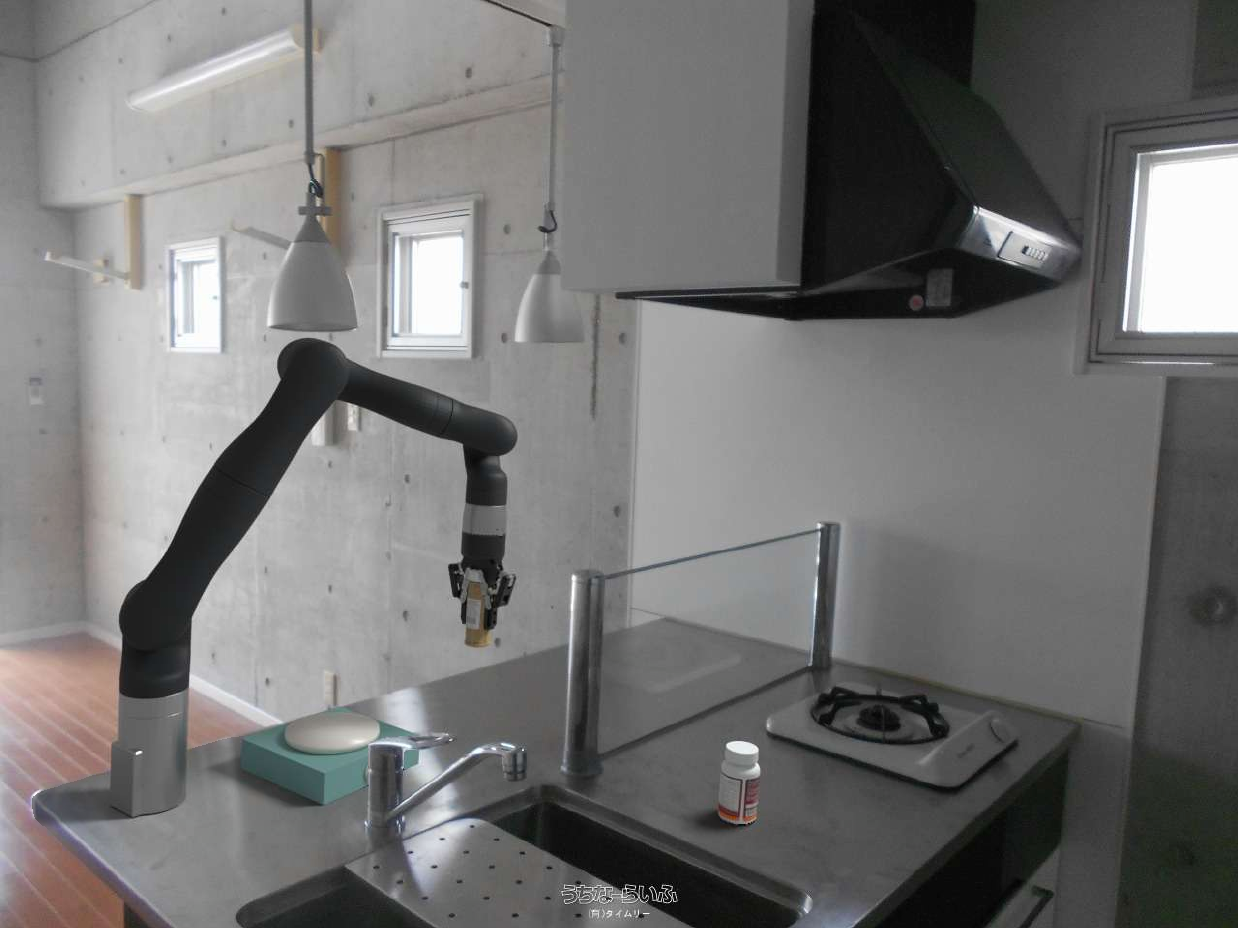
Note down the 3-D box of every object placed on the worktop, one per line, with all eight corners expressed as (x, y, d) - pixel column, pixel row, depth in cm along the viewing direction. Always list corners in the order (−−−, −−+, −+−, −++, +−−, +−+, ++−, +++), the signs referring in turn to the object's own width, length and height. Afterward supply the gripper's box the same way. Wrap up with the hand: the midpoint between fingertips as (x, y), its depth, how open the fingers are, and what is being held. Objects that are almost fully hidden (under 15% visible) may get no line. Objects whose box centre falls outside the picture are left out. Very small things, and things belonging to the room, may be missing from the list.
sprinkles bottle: (494, 646, 157) (499, 570, 156) (470, 649, 154) (475, 571, 153) (483, 639, 161) (488, 565, 160) (459, 642, 158) (464, 566, 157)
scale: (326, 806, 136) (327, 774, 136) (240, 768, 147) (241, 738, 147) (420, 764, 153) (422, 735, 153) (338, 732, 164) (339, 706, 164)
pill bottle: (753, 808, 145) (759, 740, 144) (759, 827, 139) (765, 756, 138) (715, 806, 145) (720, 738, 144) (719, 824, 139) (724, 753, 138)
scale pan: (327, 762, 140) (327, 754, 140) (264, 737, 147) (265, 729, 147) (398, 734, 152) (398, 727, 152) (337, 712, 160) (338, 705, 160)
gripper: (438, 525, 156) (432, 622, 158) (502, 537, 149) (496, 639, 150) (467, 521, 163) (461, 614, 164) (530, 533, 155) (523, 630, 157)
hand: (478, 625), depth 157 cm, fingers closed on sprinkles bottle, 4 cm apart
